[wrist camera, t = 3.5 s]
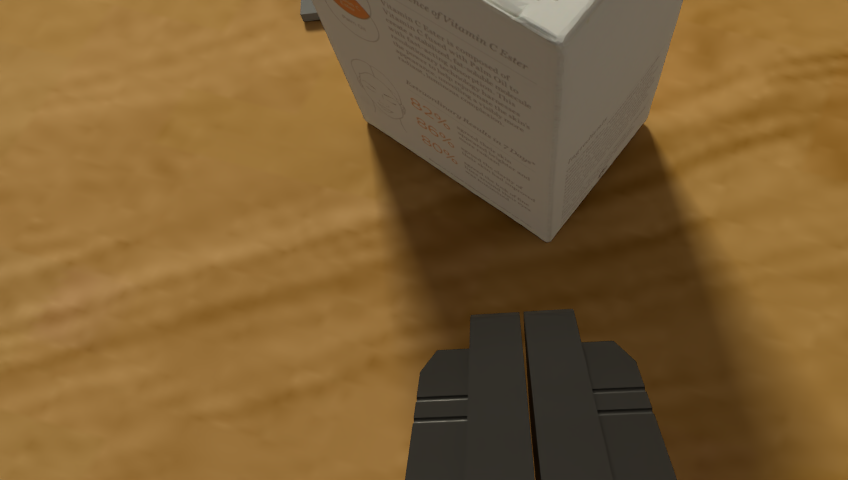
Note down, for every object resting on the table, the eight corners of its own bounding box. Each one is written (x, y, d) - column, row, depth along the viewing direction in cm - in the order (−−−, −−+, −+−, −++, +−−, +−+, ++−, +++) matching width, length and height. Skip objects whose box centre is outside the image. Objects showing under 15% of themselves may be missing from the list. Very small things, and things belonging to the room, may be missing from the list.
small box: (649, 121, 22) (747, -163, 13) (547, 251, 21) (569, 48, 12) (458, 10, 25) (418, -300, 15) (359, 120, 24) (247, -135, 14)
